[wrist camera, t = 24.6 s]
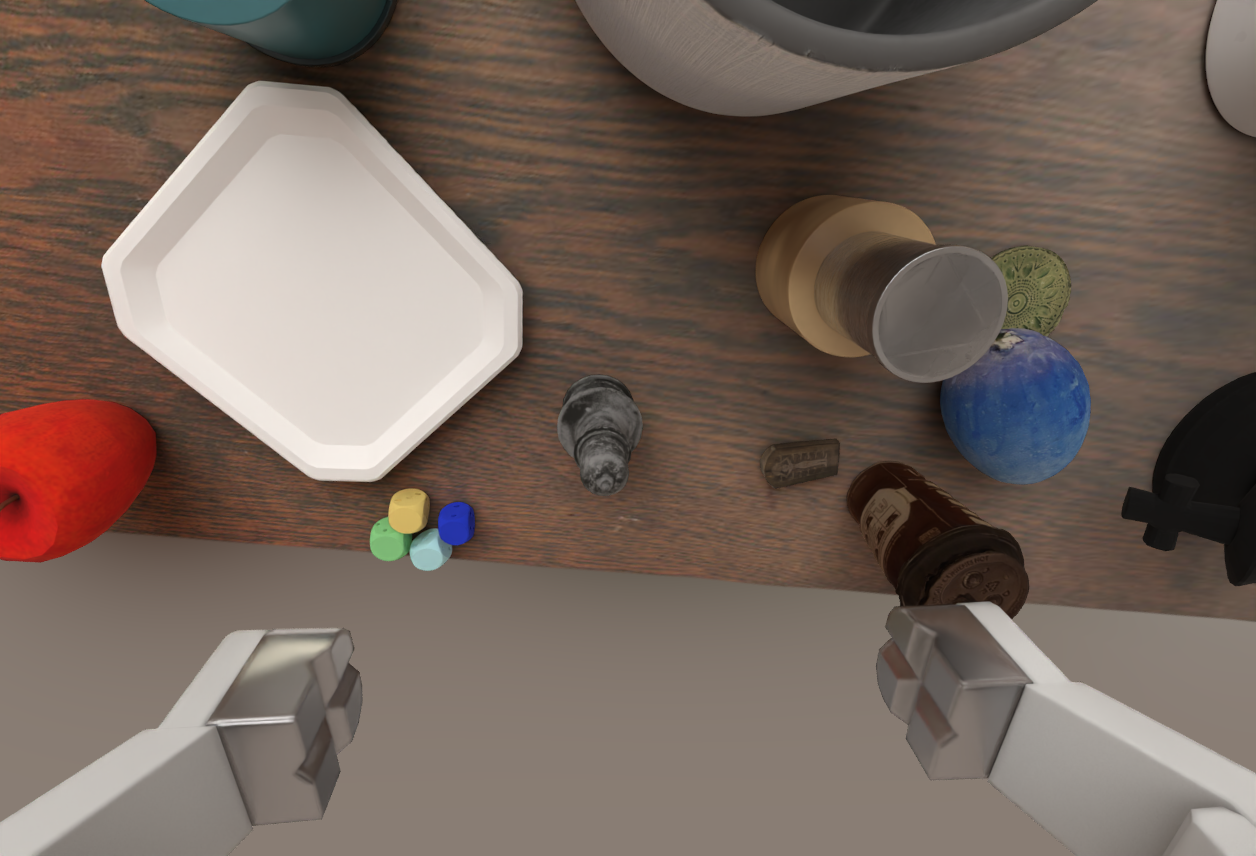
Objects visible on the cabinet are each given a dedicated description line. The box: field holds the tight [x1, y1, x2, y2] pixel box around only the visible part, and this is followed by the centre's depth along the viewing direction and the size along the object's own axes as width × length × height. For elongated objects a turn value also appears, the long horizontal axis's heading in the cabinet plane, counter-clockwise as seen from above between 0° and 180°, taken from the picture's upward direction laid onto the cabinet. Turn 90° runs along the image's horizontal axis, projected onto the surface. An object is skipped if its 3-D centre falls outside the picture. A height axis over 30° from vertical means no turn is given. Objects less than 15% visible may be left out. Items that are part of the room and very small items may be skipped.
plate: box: [101, 81, 523, 482], centre depth 38 cm, size 21×21×2 cm
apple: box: [0, 399, 157, 562], centre depth 37 cm, size 9×9×11 cm
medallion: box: [991, 246, 1071, 337], centre depth 43 cm, size 8×8×1 cm
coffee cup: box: [847, 461, 1029, 620], centre depth 44 cm, size 9×8×13 cm
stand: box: [755, 195, 936, 357], centre depth 38 cm, size 9×9×7 cm
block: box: [760, 439, 840, 488], centre depth 47 cm, size 4×6×2 cm, turn 94°
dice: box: [370, 489, 475, 571], centre depth 46 cm, size 8×3×6 cm
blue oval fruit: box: [940, 328, 1091, 484], centre depth 41 cm, size 9×9×15 cm
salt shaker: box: [557, 374, 643, 496], centre depth 39 cm, size 6×6×12 cm
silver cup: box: [814, 231, 1008, 383], centre depth 31 cm, size 6×6×8 cm
